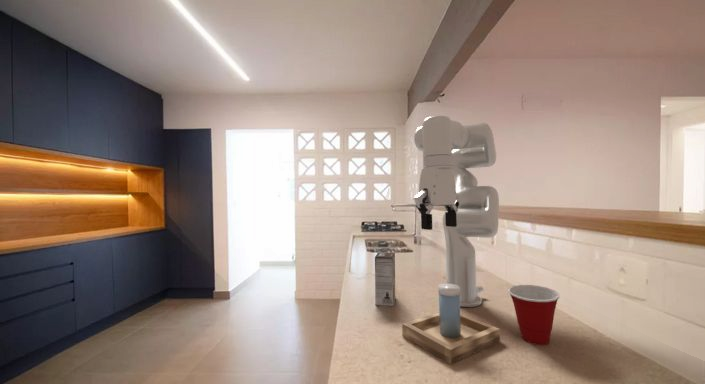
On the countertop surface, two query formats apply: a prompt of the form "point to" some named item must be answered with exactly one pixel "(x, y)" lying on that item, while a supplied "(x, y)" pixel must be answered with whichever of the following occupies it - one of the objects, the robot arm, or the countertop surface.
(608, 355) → the countertop surface
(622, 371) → the countertop surface
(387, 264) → the coffee box
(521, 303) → the plastic cup
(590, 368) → the countertop surface
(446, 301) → the shaker
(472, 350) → the tray
